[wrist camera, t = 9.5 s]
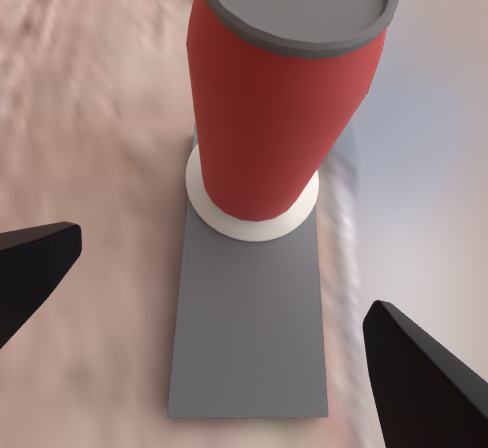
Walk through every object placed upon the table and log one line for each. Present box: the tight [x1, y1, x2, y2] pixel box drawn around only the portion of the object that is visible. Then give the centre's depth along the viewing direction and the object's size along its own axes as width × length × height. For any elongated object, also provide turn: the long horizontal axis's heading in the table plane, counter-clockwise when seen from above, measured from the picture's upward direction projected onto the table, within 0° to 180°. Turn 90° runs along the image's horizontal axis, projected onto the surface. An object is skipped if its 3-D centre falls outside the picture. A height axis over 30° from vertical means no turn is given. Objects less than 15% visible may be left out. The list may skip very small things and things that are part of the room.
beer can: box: [186, 0, 399, 222], centre depth 13 cm, size 7×7×12 cm
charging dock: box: [167, 125, 328, 418], centre depth 18 cm, size 18×9×2 cm, turn 179°
